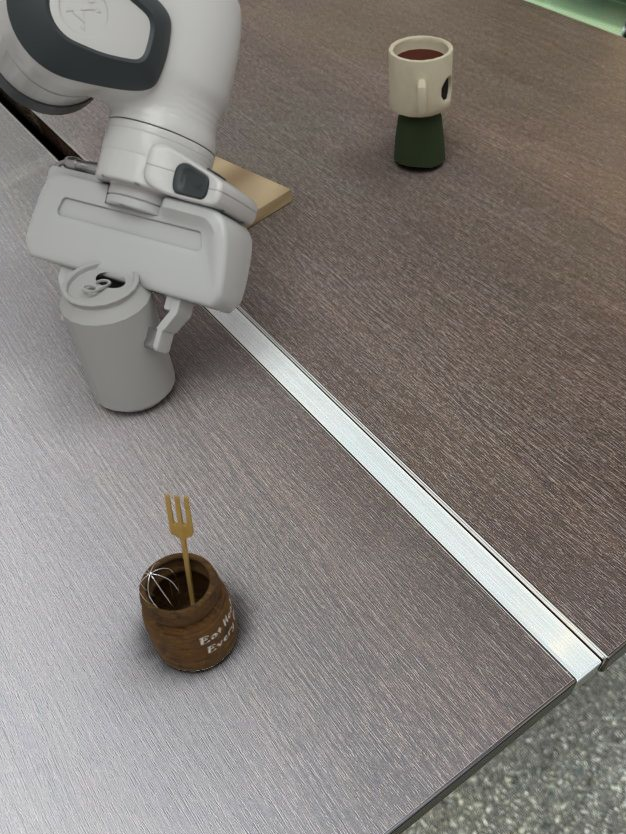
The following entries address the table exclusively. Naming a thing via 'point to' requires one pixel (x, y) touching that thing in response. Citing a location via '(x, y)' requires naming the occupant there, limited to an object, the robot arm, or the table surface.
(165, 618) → the utensil holder
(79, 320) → the can
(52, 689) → the table surface
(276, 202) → the board
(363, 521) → the table surface
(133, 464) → the table surface
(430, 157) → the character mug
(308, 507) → the table surface
